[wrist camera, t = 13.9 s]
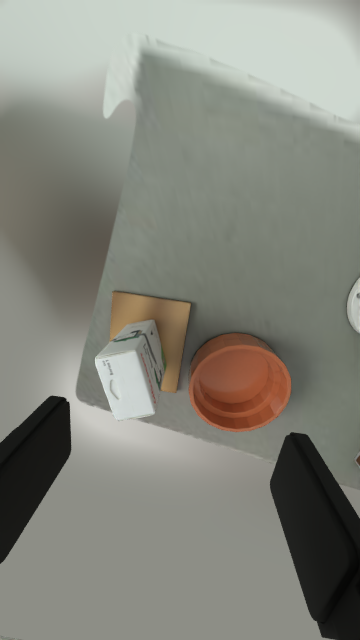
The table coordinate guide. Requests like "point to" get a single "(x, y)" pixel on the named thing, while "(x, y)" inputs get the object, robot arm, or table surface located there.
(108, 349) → the ink box
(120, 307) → the wooden board
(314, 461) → the robot arm
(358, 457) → the food container
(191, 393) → the bowl
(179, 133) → the table surface
